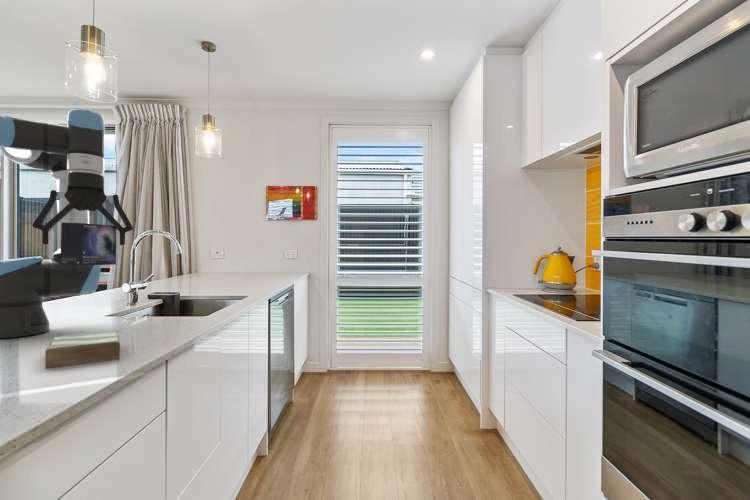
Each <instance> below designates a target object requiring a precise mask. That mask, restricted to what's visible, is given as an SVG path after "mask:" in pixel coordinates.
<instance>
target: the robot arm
mask: <svg viewBox="0 0 750 500" xmlns="http://www.w3.org/2000/svg"><path fill="white" fill-rule="evenodd" d="M66 123H67V124H66V125H61V124H56V123H49V122H41V121H36V120H30V119H24V118H19V117H14V116H10V115H1V114H0V150H1V152H2V154H3V155H4V156H5V157H6V158H7V159H9V160H10V161H11V162H14V163H15V164H19V165H21V166H23V167H27V168H31V169H35V170H38V171H39V170H41V171H49V172H50V176H51V178H53V180H54V181H56V190H55V189H52V190H50V192H49V193H50V194H49V199H48V200H47V202H46V203H45V205H44V206H43V208H42V209H41V210H40V212H39V214H38V216H37V217H36V218H35V220H34V221H33V223H32V227H33V228H35V229H37V230H41V232H42V236H41V237H42V241H41V242H42V244H43V245H48V247H47V250H48V255H47V256H48V257H47V258H48V259H50V260H44V258H43V256H41V255H40V256H38V255H37V256H30V257H20V258H10V259H3V260H0V339H5V338H7V339H8V338H18V337H24V336H25V337H26V336H32V335H38V334H43V333H46V332H48V331H50V322H49V319H48V317H47V314H46V312H45V310H44V307H43V298H53V297H69V296H70V297H73V296H74V297H75V296H79V297H80V296H86V295H87V296H88V295H93V294H94V293H95V292H96V291H97V289H98V287H99V281H100V277H101V268H102V265H86V266H75V265H60V257H61V223H87V224H90V212H94V211H99V212H100V213H101V214H102V215H103V216H104V218H106V220H107V221H108V222H109V223H111V224H112V225H113V226H114V227H115V228H116V229H117V233H116V259H120V258H121V257H120V256H121V255H120V254H121V250H120V249H121V246H124V245H126V233H128V232H131V231H133V229H134V228H133V225H132V223H131V221H130V220H129V218H128V216H127V215H126V213H125V211H124V209H123V208H122V205H121V204H120V200H119V199H120V197H119V195H118V194H113V195H112V194H111V195H109V194H108V195H106V193H105V176H104V174H105V130H106V127H105V117H104V116H102V114H100V113H98V112H95V111H92V110H88V109H83V108H82V109H81V108H80V109H79V108H74V109H70V110H68V112H67V120H66ZM106 201H108V202H109V203H110V204H111V205H113V207H114V208H115V210H116V212H117V214H118V215H119V217H120V219H121V220H122V222H123V224H124V226H125V227H123V226H122V225H121V224H120V223H119V221H118V220H117V219H115V217H113V215H112V214H111V213H110V212H109V211H108V210H107V209H106V208H105V207H104V206H103V204H104V203H105V202H106ZM55 205H56V214H55V216H53V217H52V218H51V219H50V220H49V221H48V222H47V223H46V224H43V223H44V221H45V220H46V218H47V217H48V216H49V214H50V213H51V211H52V210H53V208H54V207H55ZM55 226H57V227H56V228H57V229H56V230H57V232H56V234H57V237H56V241H57V243H56V244H57V245H56V247H57V250H56V251H55V252H54V246H55V245H54V241H55V239H54V238H55V231H52V229H53V228H54V227H55Z"/></svg>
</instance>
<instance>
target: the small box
mask: <svg viewBox="0 0 750 500" xmlns="http://www.w3.org/2000/svg"><path fill="white" fill-rule="evenodd" d="M116 233H118V230H117V229H116V228H115V227H114V226H113V225H109V224H99V223H97V224H96V223H89V224H87V223H61V257H60V265H75V266H86V265H101V266H112V265H117V258H116Z"/></svg>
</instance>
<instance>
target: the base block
mask: <svg viewBox="0 0 750 500" xmlns="http://www.w3.org/2000/svg"><path fill="white" fill-rule="evenodd" d="M120 343H121V341H120V336H119V331H118V330H110V331H109V330H108V331H101V332H100V331H99V332H98V331H97V332H89V333H80V334H79V333H78V334H67V335H56V336H54V337H52V338H51V340H50V342H49V344H48V345H47V347H46V349H45V350H44V351H45V356H44V357H45V358H44V359H45V361H44V362H45V365H44V368H45V369H53V368H58V367H59V368H60V367H61V368H62V367H68V366H75V365H82V364H83V365H84V364H91V363H98V362H105V361H113V360H120V359H121V356H120V353H121V351H120V350H121V346H120V345H121V344H120Z"/></svg>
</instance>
